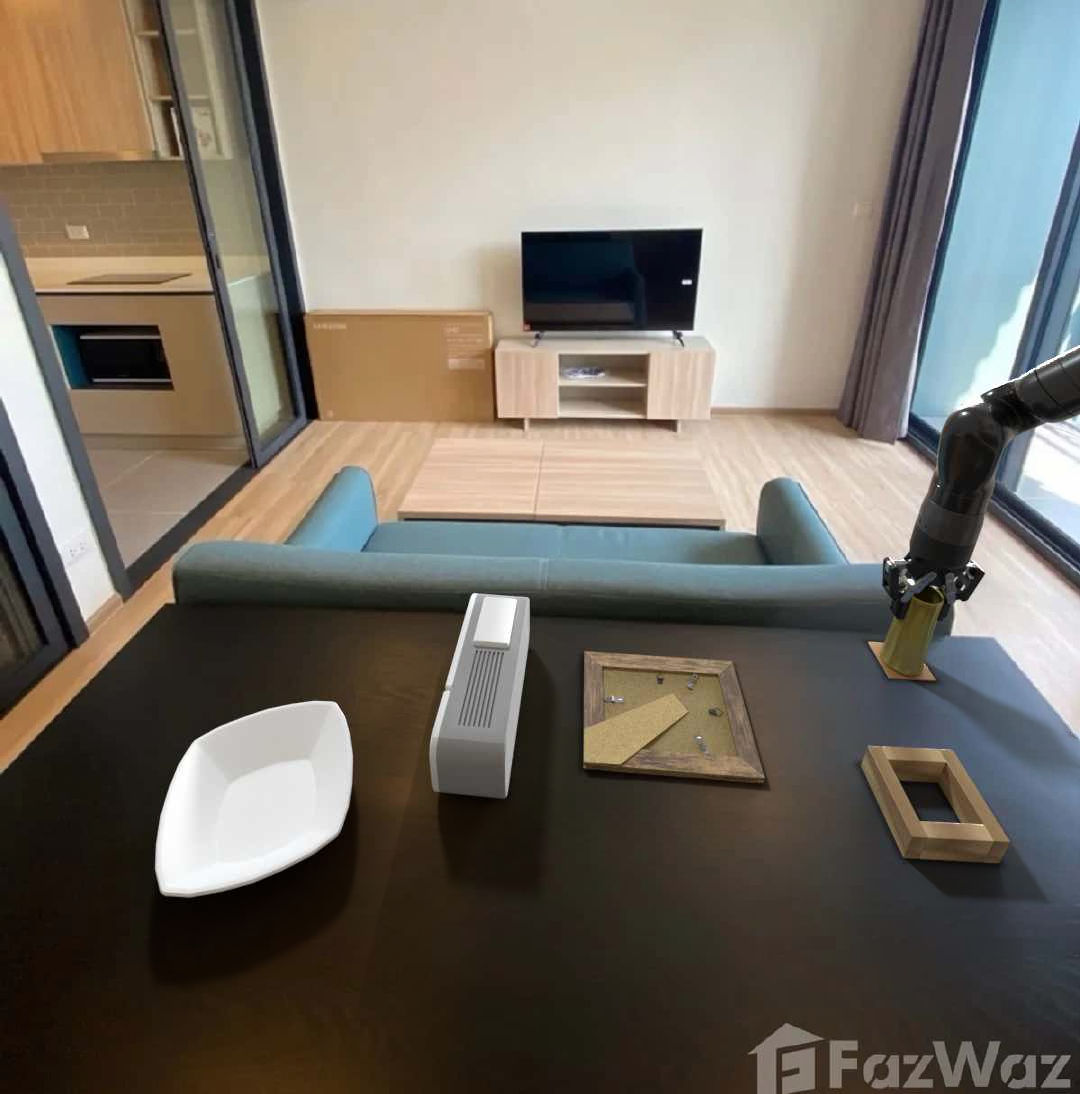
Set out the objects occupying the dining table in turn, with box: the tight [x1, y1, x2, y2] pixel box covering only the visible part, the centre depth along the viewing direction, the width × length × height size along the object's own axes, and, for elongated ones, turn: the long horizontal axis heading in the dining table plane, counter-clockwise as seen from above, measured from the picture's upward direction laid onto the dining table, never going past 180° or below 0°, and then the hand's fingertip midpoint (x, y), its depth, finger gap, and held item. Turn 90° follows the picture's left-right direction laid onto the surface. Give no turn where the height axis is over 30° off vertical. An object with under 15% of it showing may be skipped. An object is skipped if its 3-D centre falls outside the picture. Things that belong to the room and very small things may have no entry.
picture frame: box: [582, 650, 766, 784], centre depth 85 cm, size 19×2×24 cm
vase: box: [880, 580, 944, 676], centre depth 91 cm, size 6×6×14 cm
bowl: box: [154, 700, 354, 898], centre depth 72 cm, size 22×22×5 cm
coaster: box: [867, 641, 937, 682], centre depth 94 cm, size 7×7×1 cm
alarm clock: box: [428, 592, 531, 800], centre depth 83 cm, size 27×9×12 cm, turn 175°
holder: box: [860, 745, 1011, 864], centre depth 72 cm, size 11×11×4 cm
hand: (916, 616), depth 90 cm, fingers closed on vase, 5 cm apart
